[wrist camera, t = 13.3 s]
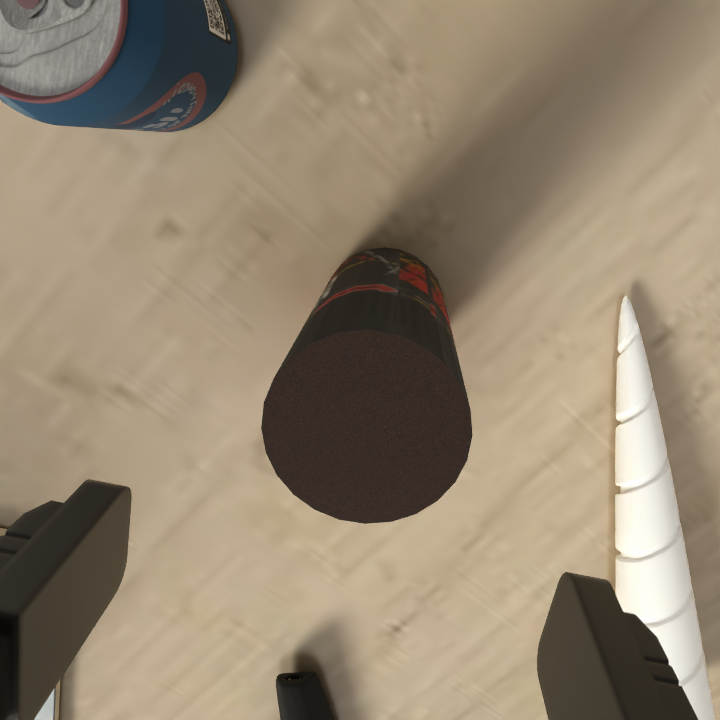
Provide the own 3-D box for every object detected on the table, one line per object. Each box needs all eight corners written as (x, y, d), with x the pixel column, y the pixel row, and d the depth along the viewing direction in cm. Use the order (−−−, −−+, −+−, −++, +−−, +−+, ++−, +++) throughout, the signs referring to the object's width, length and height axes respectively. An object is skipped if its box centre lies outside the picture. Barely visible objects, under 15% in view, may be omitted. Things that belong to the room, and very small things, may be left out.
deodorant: (423, 378, 34) (435, 546, 20) (311, 346, 34) (241, 492, 20) (459, 267, 32) (501, 364, 18) (341, 232, 32) (288, 303, 18)
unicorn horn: (704, 284, 32) (753, 308, 27) (691, 687, 39) (729, 760, 34) (601, 295, 32) (632, 320, 28) (607, 691, 39) (633, 763, 35)
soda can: (126, 150, 32) (-34, 152, 20) (70, -8, 30) (-141, -104, 18) (264, 108, 31) (179, 86, 19) (216, -58, 29) (89, -193, 17)
